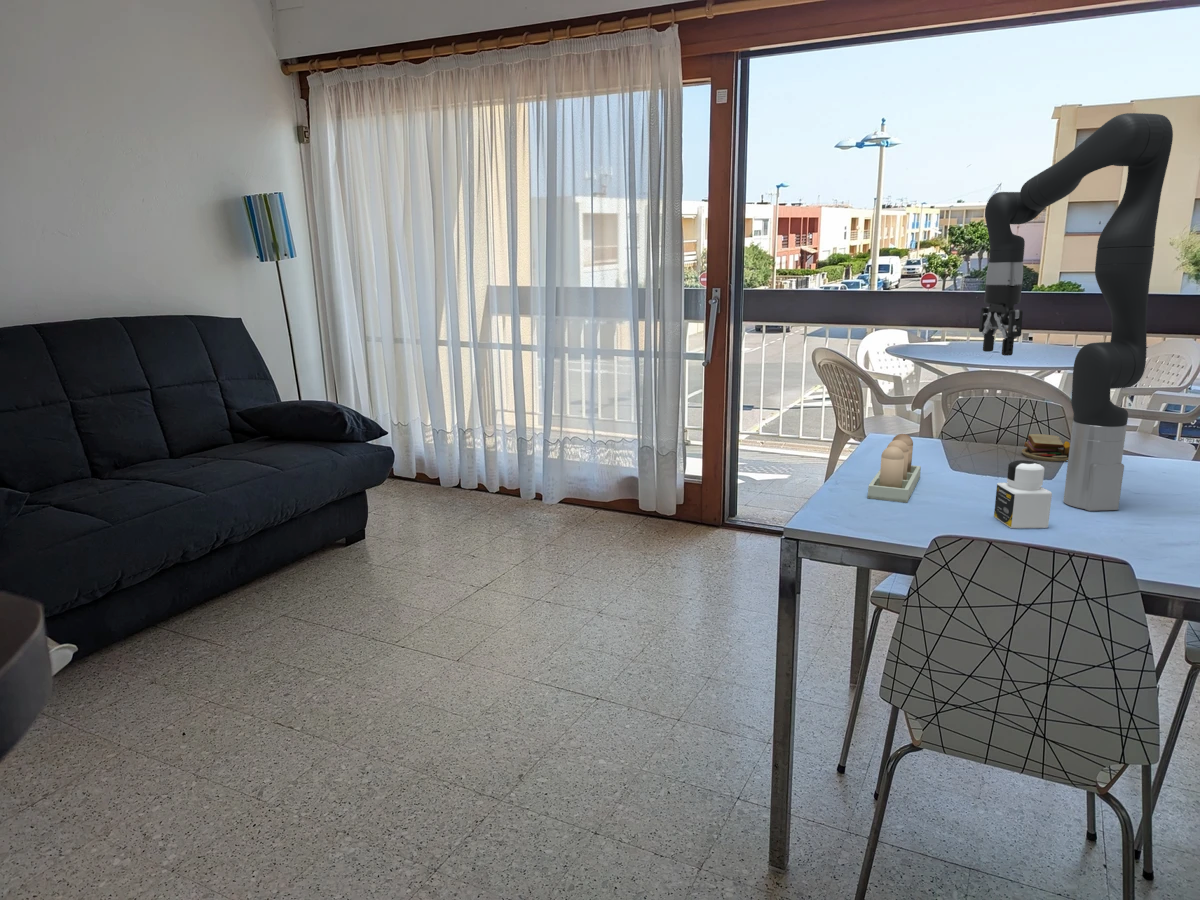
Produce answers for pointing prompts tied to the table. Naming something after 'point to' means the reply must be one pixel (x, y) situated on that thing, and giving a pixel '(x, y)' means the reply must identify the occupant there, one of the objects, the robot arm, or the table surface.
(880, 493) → the compartment tray
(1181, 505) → the table surface
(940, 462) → the table surface
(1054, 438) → the toy sandwich meal
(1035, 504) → the medicine bottle
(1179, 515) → the table surface
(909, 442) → the round-topped wooden peg
